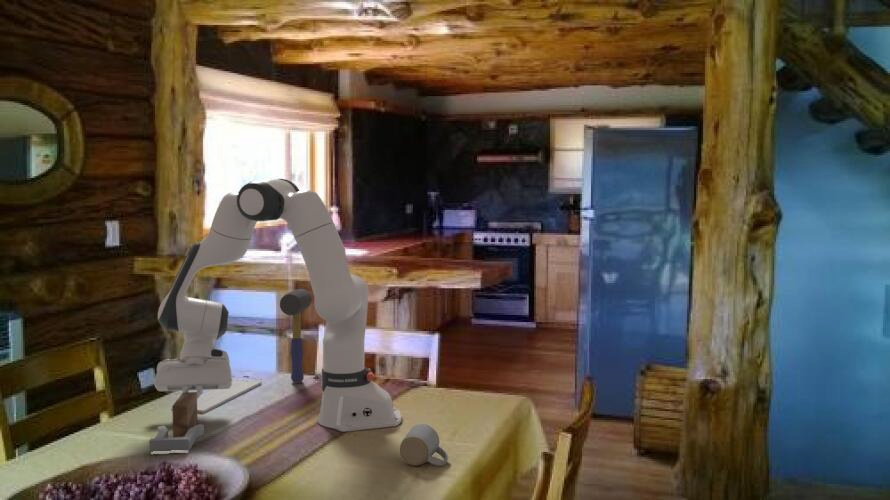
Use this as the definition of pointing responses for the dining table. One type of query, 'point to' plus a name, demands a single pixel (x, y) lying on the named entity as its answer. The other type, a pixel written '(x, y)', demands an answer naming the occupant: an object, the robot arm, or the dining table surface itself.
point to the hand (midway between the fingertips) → (190, 402)
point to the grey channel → (175, 439)
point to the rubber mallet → (296, 327)
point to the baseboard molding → (224, 394)
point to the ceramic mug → (422, 446)
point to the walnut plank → (184, 413)
